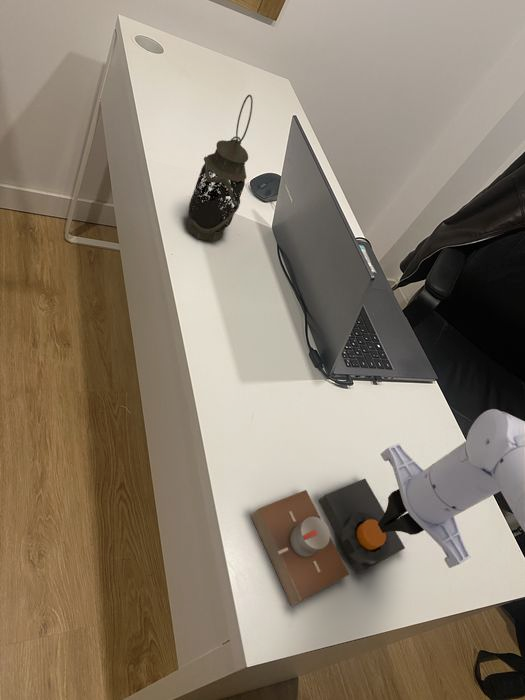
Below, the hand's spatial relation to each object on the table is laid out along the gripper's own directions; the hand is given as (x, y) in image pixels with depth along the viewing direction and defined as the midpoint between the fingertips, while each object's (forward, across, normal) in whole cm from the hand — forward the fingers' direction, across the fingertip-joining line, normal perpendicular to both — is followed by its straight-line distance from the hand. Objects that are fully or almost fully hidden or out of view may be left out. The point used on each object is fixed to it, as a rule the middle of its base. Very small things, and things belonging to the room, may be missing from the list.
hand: (385, 525), depth 64 cm
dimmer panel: (+8, +3, +9) cm, 12 cm away
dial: (+5, +3, +9) cm, 11 cm away
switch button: (+4, 0, 0) cm, 4 cm away
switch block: (+8, +2, -2) cm, 9 cm away
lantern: (+8, +65, -4) cm, 66 cm away
